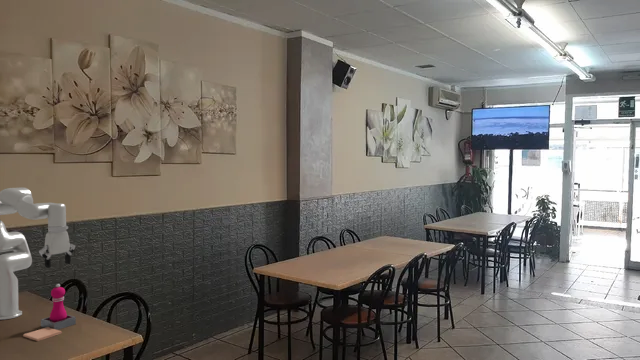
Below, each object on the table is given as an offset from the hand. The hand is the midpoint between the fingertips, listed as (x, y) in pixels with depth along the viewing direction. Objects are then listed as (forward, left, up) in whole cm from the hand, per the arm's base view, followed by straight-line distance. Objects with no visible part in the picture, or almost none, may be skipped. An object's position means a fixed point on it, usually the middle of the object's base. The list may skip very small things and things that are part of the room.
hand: (58, 265), depth 228 cm
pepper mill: (0, 0, -29) cm, 29 cm away
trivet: (+6, -11, -29) cm, 32 cm away
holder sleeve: (0, 0, -29) cm, 29 cm away
